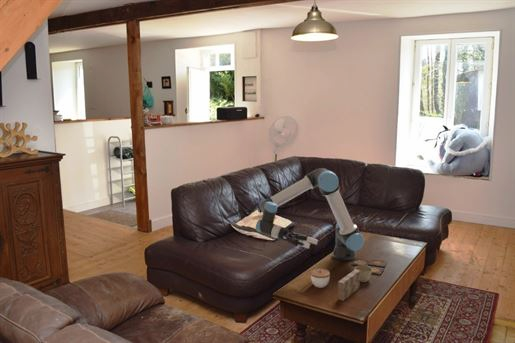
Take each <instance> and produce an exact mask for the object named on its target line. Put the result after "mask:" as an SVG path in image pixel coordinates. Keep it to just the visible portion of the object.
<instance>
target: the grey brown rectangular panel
mask: <svg viewBox="0 0 515 343" xmlns="http://www.w3.org/2000/svg"><path fill="white" fill-rule="evenodd" d="M337 283H338V284H337V285H338V286H337V288H338V289H337V300H339V301H343V302H344V301H345V300H346V299H348V298H349V297H350V296H351V295H353V294H354V293H355V292H357V290H359V289H360V288H361V281H360V270H356V269H355V268H354V270H352V271H351V272H350V273H348V274H347V275H345V276H344V277H342V278H341V279H340V280H339V281H338V282H337Z"/></svg>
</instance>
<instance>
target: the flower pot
mask: <svg viewBox="0 0 515 343" xmlns="http://www.w3.org/2000/svg"><path fill="white" fill-rule="evenodd" d="M355 269H356V270H360V283H367V282H368V281H369V280H370V279H371V276H372V273H373V268H372V267H371V266H368V265H358V266H357V265H356V266H355V267H354V270H355Z"/></svg>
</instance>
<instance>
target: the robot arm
mask: <svg viewBox="0 0 515 343" xmlns="http://www.w3.org/2000/svg"><path fill="white" fill-rule="evenodd" d="M339 183H340V182H339V177H338V176H337V174H336V173H334V172H333V171H331V170H328V169H327V168H324V167H319V168H317V169H314V170H312V171H311V172H309V173H307V174H306V175H304V177H303V178H302V179H301V180H298V181H297V182H295V183H293V184H291V185H290V186H288V187H286V188H284V189H283V190H281V191H279V192H278V193H276V194H274V195H272V196H271V197H268V198H267V199H266V198H265V199H262V200H260V202H259V204H258V207H259V210H260V211H261V213H262V217H261V219H258V220H257V221H256V224H255V230H256V231H257V232H258V233H261V234H263V235H266V236H270V237H272V238H273V239H278V240H280V241H283V242H284V241H286V242H288V243H290V244H292V245H293V246H295V247H298V246H300V247H303V248H305V249H310V245H311V244H314V245H318V241H319V240H318V239H316V238H313V237H310V236H309V234H302V233H298V232H294V231H291V232H290V230H289V228H287V227H285V226H281V225H278V224H275V218H276V214H277V211H278V207H280V206H281V205H282V206H283V205H284V204H285V203H287V202H289V201H290V200H293V199H294V198H296V197H298V196H300V195H302V194H303V193H304V192H307V191H308V190H310V189H312V190H313V189H315V188H317V187H318V189H319V191H320V193H321V196H324V197H325V198H326V200H327V202H328V205H329V207H330V209H331V211H332V214H333V215H334V218H335V220H336V225H335V246H334V249H333V252H332V258H333V259H335V260H338V261H344V262H345V261H354V260H356V258H357V252H356V251H358V250H361V249H362V248H363V246H364V244H365V237H364V235H363V234H362V233H361V232H360V230H359V227H358V225H357V224H356V223H353V220H352V218H351V216H350V213H349V211H348V208H347V207H346V204H345V202H344V199H343V198H342V195H341V192H340V189H341V186H340V185H339ZM305 241H306V242H305Z"/></svg>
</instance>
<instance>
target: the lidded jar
mask: <svg viewBox="0 0 515 343" xmlns="http://www.w3.org/2000/svg"><path fill="white" fill-rule="evenodd" d="M330 276H331V273H330V271H329V270H328V269H324V268H316V269H312V270H311V271H310V280H311V283H312V285H314V287H316V288H320V289H321V288H326V286H327V285H328V284H329V282H330Z"/></svg>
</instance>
